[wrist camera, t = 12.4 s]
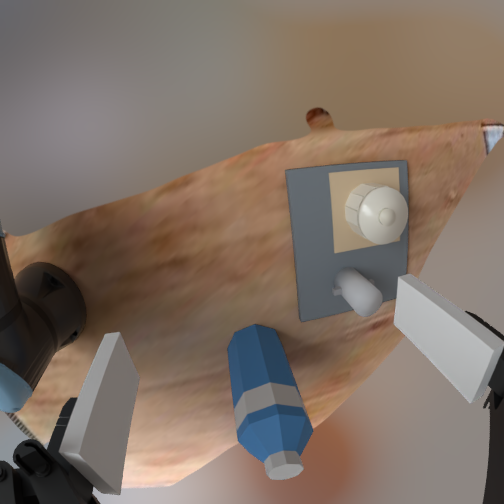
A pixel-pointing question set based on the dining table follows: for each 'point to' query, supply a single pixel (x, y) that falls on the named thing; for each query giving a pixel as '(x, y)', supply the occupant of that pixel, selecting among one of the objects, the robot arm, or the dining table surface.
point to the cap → (376, 212)
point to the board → (342, 240)
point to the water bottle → (267, 402)
